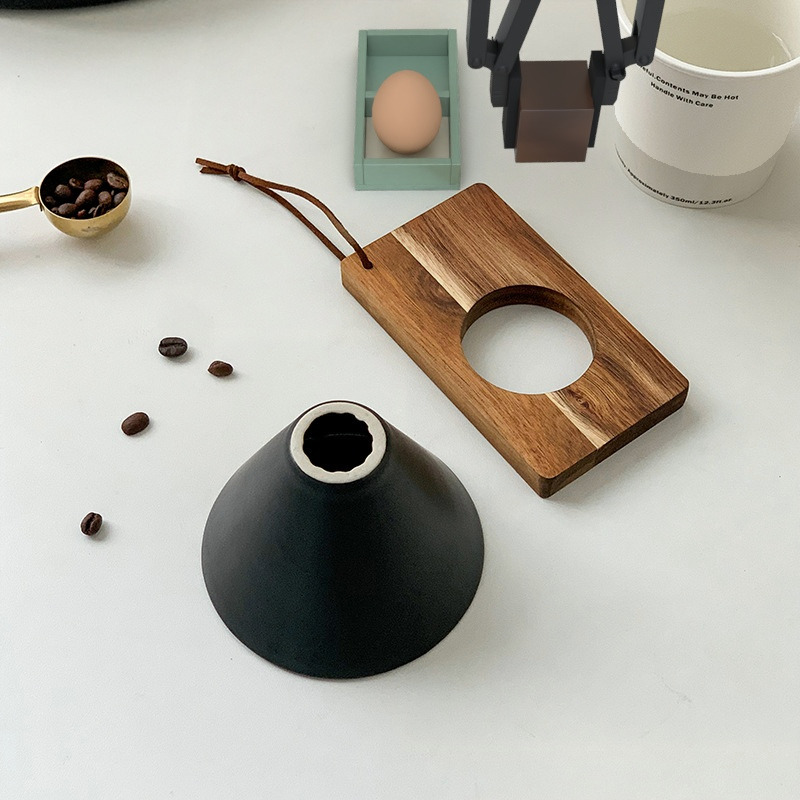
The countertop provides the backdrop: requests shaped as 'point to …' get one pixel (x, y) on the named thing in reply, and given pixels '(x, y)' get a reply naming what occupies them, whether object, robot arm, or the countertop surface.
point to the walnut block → (554, 112)
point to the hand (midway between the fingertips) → (547, 134)
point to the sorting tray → (440, 66)
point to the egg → (406, 112)
